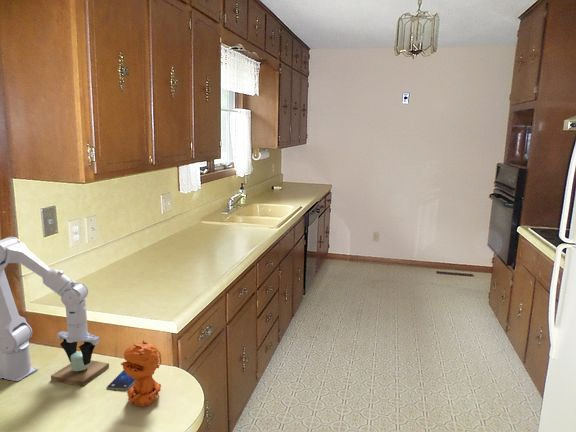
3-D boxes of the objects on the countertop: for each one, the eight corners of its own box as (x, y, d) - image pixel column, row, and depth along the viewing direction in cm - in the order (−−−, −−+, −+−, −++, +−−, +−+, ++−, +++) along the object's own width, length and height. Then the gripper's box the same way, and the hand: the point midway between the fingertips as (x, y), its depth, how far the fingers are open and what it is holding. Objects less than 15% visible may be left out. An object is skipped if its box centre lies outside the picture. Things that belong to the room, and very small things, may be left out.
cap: (67, 369, 140) (66, 357, 139) (79, 362, 145) (78, 350, 144) (80, 372, 139) (79, 359, 138) (92, 364, 144) (91, 352, 143)
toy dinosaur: (122, 394, 131) (118, 337, 128) (160, 386, 135) (157, 331, 132) (124, 415, 121) (120, 353, 118) (165, 406, 125) (162, 346, 122)
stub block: (51, 380, 138) (50, 367, 138) (79, 362, 150) (78, 349, 149) (82, 386, 135) (81, 372, 134) (109, 367, 146) (108, 354, 146)
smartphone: (104, 388, 133) (129, 363, 148) (104, 390, 134) (129, 366, 148) (127, 389, 132) (149, 364, 147) (127, 392, 133) (150, 367, 147)
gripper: (48, 324, 138) (51, 364, 140) (87, 330, 134) (90, 371, 136) (65, 315, 145) (68, 354, 147) (102, 321, 140) (105, 361, 143)
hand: (80, 362), depth 142 cm, fingers closed on cap, 5 cm apart
